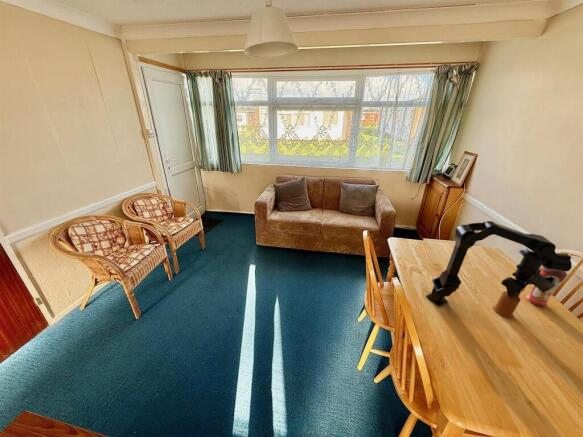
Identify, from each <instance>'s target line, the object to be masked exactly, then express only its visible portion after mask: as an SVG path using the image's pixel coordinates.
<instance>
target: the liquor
mask: <svg viewBox="0 0 583 437" xmlns="http://www.w3.org/2000/svg"><path fill="white" fill-rule="evenodd" d="M560 254H568V255H569V256H570V257H571V254H570V253H569V252H566V251H561V252H560ZM540 271H541V272H540V273H541V275H542V276H545V277H546V276H552V277H554V278H555V281H554V283H555V286H554V287H553V288H551V289H550V290H548V291H546V292H541V291H540V290H539V289H538V288H537V287H536V286H534V285H533V287H532V288H531V291H530V293H529V294H528V295H526V298H527V300H528V301H529V302H530V303H531V304H532V305H534V306H536V307H537V306H538V307H546V306H548V301H549V300H550V299H551V298H552V296H553V294H554V293H555V292H556V291H557V290H558V288H560V286H561V284H562V283H563V282H564V281H565V279H566V278H567V277H568V272H567V271H566V272H565V271H558V270H551V269H546V268H544V267H543V266H542V269H541V270H540Z"/></svg>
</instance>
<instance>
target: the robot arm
mask: <svg viewBox="0 0 583 437" xmlns="http://www.w3.org/2000/svg"><path fill="white" fill-rule="evenodd" d="M454 233H455V234H454V241H455V244H454V247H453V250H452V253H451V255H450V258H449V260H448V263H447V266H446V269H445V270H443V271H442V272H441V273H440V275H439V276H437V277H435V278H433V279H431V283H432V284H433V287H432V290H431V293H430V294H428V295H426V298H427V299H428V300H430V301H431V302H433V303H434V304H435V305H436V306H442V305H444V304H445V303H447V302H448V300H447V299H446V297H448V298H449V297H450V296H451V295H452V294H453V293H454V292H456V291H458V290H459V289H460V286H461V284H462V280H461V278H460V277H459V273H460V270H461V268H462V265H463V262H464V261H465V258H466V255H467V254H468V253H467V252H468V250H469V249H471V248H472V247H474V246H475V244H476V242H479V241H483V240H485V239H487V238H488V237H490V236H492V235H493V236H494V235H495V236H497V237H500V238H503V239H505V240H508V241H511V242H514V243H517V244H519V245H522V246H524V247H526V248H525V249H520V250H519V251H518V253H519V254H520V255H521V256H523V257H522V259H521V260H520V262H519V264H517V265H516V266H515V268H516V270H515V271H514V272H512V274H511V276H513V277H511V276H508V277H505V278H504V279H502V281H501V282H500V284H501V285H502V286H503V287H505V288H506V291H507V294H508V297H510V298H512V297H513V296H514V295H515V294H516V293H520V292H521V293H522V292H524V291H525V290H526V288H527V286H529V285H533V287H534V286H536V287H537V288H538V289H539V290H540V291H541V292H546V291H548V290H550V289H551V288H553V287H554V286H555V283H554V281H555V278H554V277H552V276H546V277H545V276H542V275H541V271H542V270H541V267H542V268H543V267H544V268H546V269H551V270H558V271H565V272H566V273H567V272H569V271H571V270H572V261H571V259H572V256H571V255H570V256H569V255H568V254H561V253H556V249H557V245H556V244H554V243H553V242H552V241H551V240H549V239H547V238H546V236H543V235H539V234H535V233H525V232H521V231H518V230H516V229H514V228H510V227H507V226H505V225H502V224H499V223H496V222H495V221H492V220H487V221H483V222H471V223H468V224H461V225H459V226H457V227H456V229H455V232H454ZM521 293H520V294H521Z"/></svg>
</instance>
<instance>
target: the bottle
mask: <svg viewBox="0 0 583 437" xmlns="http://www.w3.org/2000/svg"><path fill="white" fill-rule="evenodd" d="M521 300H522V299H521V298H520V296H519V297H512V298H510V297H508V294H507V290H506V291H502V293H501V295H500V296H499V298H498V300H497V302H496V304H495V306H494V308H493V310H494V311H495V312H496V313H497V314H498V315H500V316H502V317H504V318H511V317H513V315H514V313H515V311H516V309H517V308H518V305H519V304H520V303H521Z"/></svg>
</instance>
